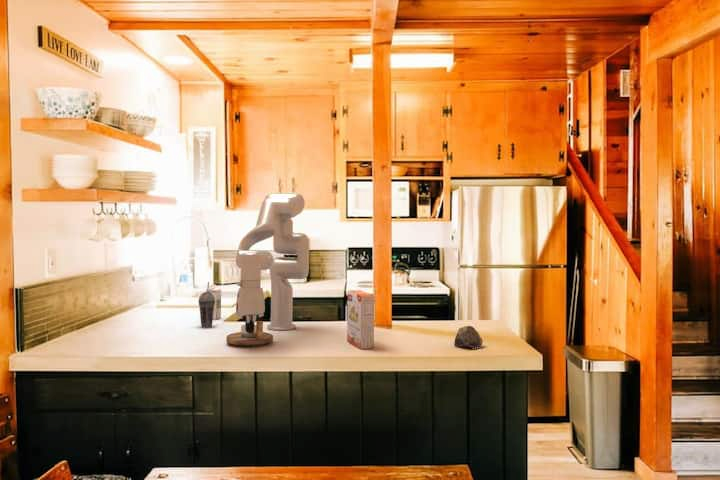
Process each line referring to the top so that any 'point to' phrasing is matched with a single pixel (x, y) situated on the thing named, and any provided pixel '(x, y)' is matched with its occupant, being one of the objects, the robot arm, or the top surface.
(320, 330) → the top surface
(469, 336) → the dark rock
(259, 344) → the turntable base
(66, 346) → the top surface
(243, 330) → the cover
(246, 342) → the turntable
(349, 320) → the cracker box
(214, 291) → the syrup box
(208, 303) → the beverage cup
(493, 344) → the top surface
